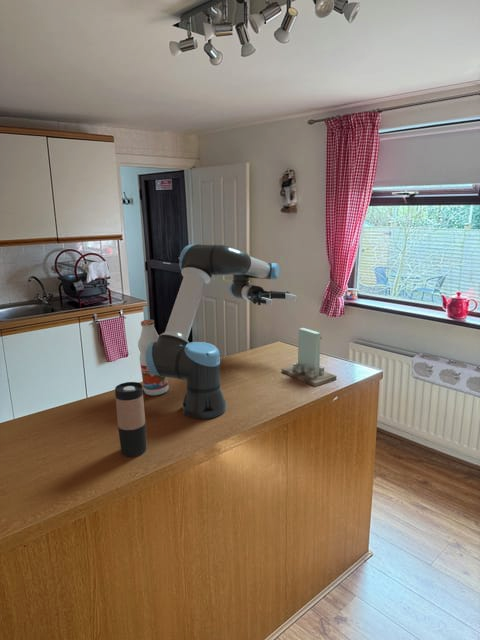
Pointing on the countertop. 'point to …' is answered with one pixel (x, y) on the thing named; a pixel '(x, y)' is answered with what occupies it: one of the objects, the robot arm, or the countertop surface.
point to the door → (309, 349)
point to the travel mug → (131, 418)
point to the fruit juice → (150, 381)
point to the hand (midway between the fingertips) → (284, 300)
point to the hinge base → (309, 375)
